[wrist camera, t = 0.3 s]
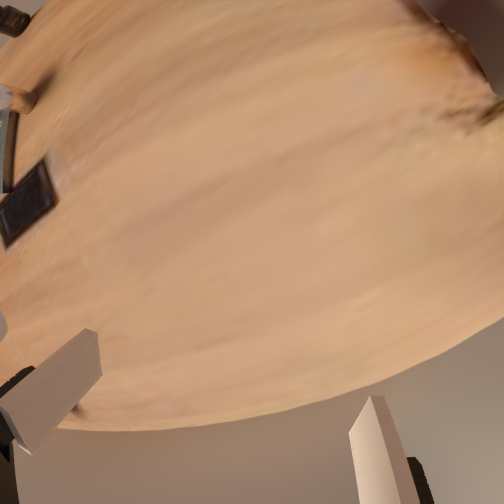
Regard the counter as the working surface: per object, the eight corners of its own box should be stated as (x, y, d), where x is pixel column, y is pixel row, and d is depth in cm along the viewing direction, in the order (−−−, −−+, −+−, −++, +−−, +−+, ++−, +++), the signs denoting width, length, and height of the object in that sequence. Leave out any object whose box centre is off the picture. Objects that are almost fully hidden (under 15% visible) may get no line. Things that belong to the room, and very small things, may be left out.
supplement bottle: (31, 10, 32) (1, -4, 20) (31, 24, 33) (-2, 10, 21) (13, 28, 33) (-17, 17, 22) (13, 43, 34) (-20, 32, 23)
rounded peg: (25, 95, 37) (-13, 87, 27) (38, 89, 37) (-2, 79, 26) (21, 116, 38) (-18, 110, 28) (34, 111, 38) (-7, 104, 27)
